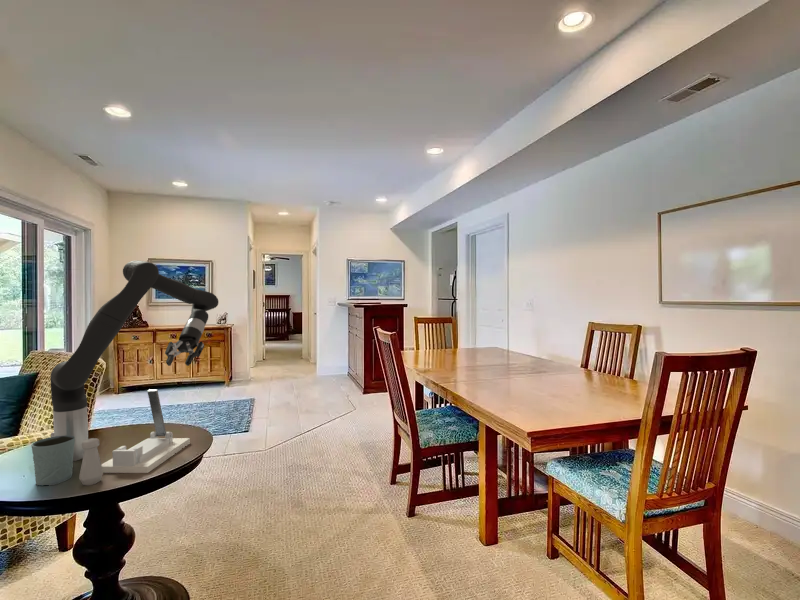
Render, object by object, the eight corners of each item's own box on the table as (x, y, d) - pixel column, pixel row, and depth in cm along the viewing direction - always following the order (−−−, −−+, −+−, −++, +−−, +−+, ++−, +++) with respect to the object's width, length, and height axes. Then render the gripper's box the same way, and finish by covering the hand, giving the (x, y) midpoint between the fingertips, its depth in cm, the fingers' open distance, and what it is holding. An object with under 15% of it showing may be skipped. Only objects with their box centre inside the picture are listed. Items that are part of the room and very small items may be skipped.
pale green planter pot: (26, 489, 120) (25, 448, 120) (40, 475, 129) (39, 437, 129) (69, 483, 124) (68, 443, 124) (80, 469, 134) (79, 432, 133)
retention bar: (147, 391, 146) (149, 389, 147) (156, 436, 151) (158, 434, 152) (155, 391, 146) (157, 389, 147) (164, 436, 151) (166, 434, 152)
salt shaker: (90, 487, 121) (89, 443, 121) (74, 486, 122) (73, 442, 122) (108, 478, 127) (107, 436, 127) (92, 477, 128) (91, 435, 128)
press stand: (97, 472, 131) (97, 451, 131) (147, 443, 156) (147, 425, 156) (147, 472, 131) (147, 451, 131) (189, 443, 156) (189, 425, 156)
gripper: (171, 326, 171) (155, 359, 159) (206, 325, 170) (191, 359, 159) (179, 337, 176) (163, 370, 165) (212, 337, 176) (199, 370, 164)
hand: (177, 364), depth 162 cm, fingers open, 7 cm apart
